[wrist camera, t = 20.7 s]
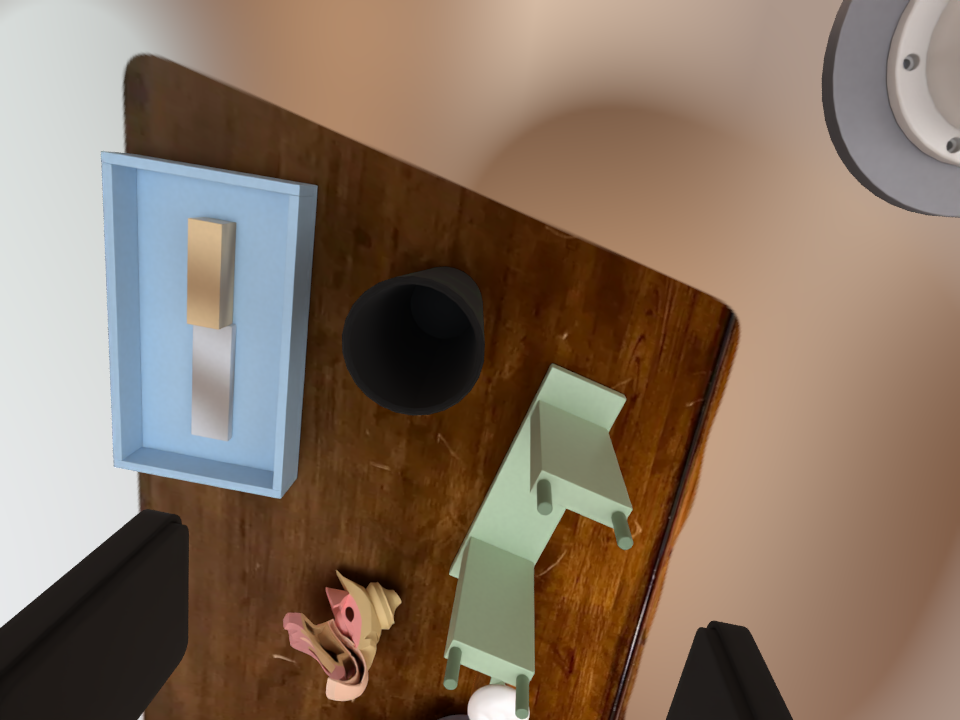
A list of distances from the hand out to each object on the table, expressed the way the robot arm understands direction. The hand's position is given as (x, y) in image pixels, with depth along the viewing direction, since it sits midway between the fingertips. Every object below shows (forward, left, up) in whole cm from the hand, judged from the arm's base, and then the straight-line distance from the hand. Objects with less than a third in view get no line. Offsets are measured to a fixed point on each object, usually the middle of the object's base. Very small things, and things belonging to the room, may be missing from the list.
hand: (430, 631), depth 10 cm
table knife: (+11, -19, -31) cm, 38 cm away
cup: (+2, -4, -32) cm, 33 cm away
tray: (+11, -19, -32) cm, 39 cm away
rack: (+13, +8, -32) cm, 36 cm away
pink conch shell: (+31, -1, -32) cm, 45 cm away
